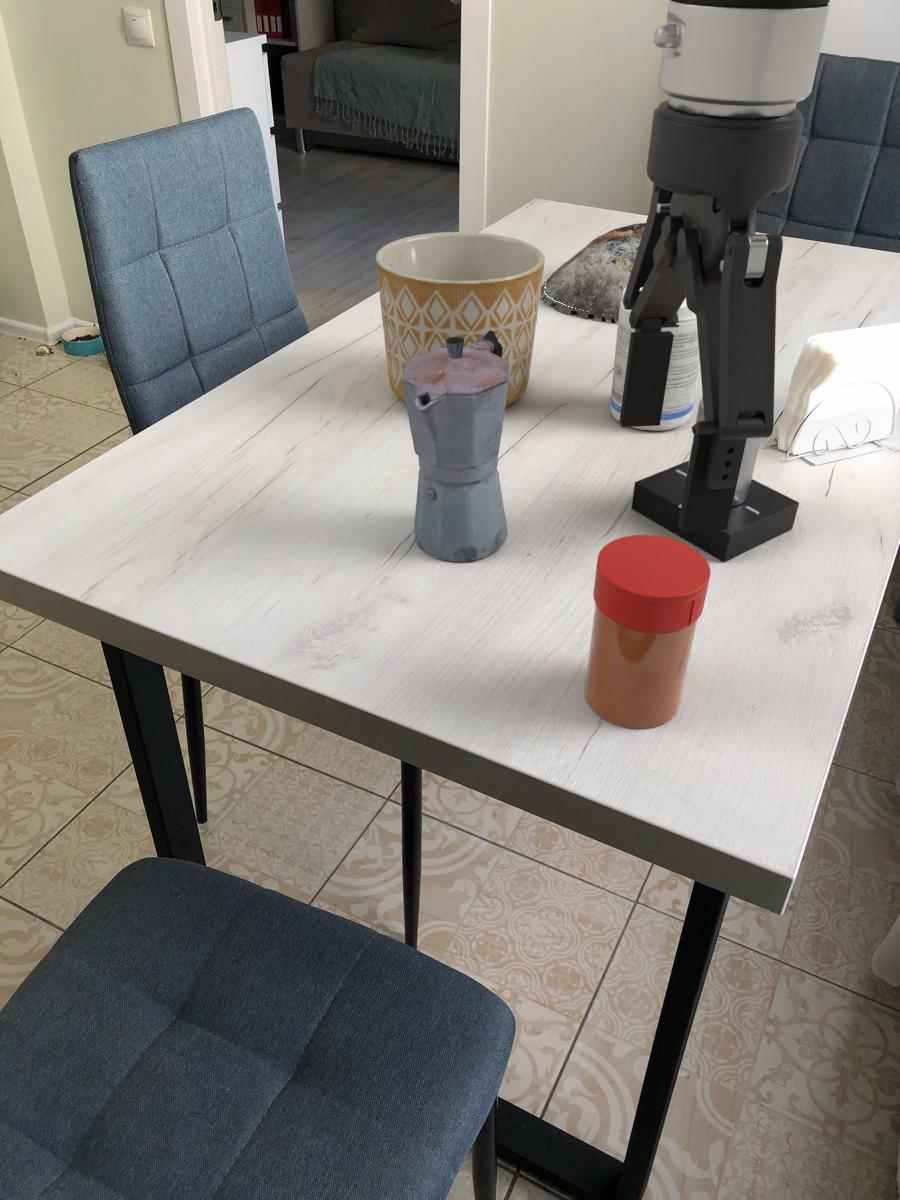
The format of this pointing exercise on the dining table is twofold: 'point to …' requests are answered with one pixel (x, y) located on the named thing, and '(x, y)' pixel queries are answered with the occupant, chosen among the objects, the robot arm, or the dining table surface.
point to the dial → (746, 464)
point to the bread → (596, 275)
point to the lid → (651, 583)
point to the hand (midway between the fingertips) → (667, 471)
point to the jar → (636, 673)
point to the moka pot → (458, 447)
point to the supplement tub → (679, 372)
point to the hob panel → (747, 521)
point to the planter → (459, 298)
